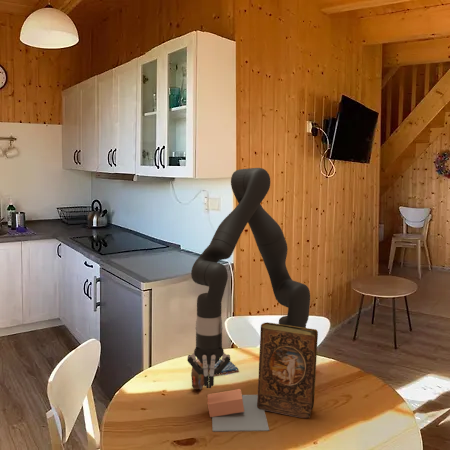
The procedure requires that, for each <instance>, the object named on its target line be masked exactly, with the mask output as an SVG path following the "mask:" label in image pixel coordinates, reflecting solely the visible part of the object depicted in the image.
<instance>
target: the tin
mask: <svg viewBox="0 0 450 450" xmlns="http://www.w3.org/2000/svg"><path fill="white" fill-rule="evenodd" d="M196 362H197V363H198V364H199V365H200V367H201V368H203V364H202V363H201V362H200V361H199V360H198V358H197V357H196ZM191 367H192V366H191ZM208 373H209V364H208ZM190 376H191V387H192V389H194V390H202V389H203V388H204V387H205V386H204V376H203V375H202V374H200V375H199V374H198V373H197V372H196V371H195V369H194V368H193V367H192V368H191V373H190Z"/></svg>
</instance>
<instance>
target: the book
mask: <svg viewBox="0 0 450 450" xmlns="http://www.w3.org/2000/svg"><path fill="white" fill-rule="evenodd" d="M259 333H260V337H259V338H260V339H259V357H258V358H259V360H258V379H257V381H258V382H257V395H258V397H257V408H258V409H261V410H264V411H265V412H272V413H276V414H282V415H286V416H290V417H296V418H302V419H310V418H311V415H312V410H313V408H314V405H315V388H316V372H317V358H318V356H317V354H318V338H319V337H318V336H319V331H318V330H317V329H314V328H307V327H306V328H302V327H296V326H289V325H282V324H279V323H275V322H263V323H261V324H260V332H259Z"/></svg>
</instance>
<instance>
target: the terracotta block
mask: <svg viewBox="0 0 450 450" xmlns="http://www.w3.org/2000/svg"><path fill="white" fill-rule="evenodd" d="M242 395H243V394H242V390H241V388H237V389H232V390H225V391H221V392H220V391H219V392H213V393H207V406H208V413H209V414H208V415H209V418H212V417H215V416H221V415H227V414H233V413H239V412H244V406H243V400H242Z"/></svg>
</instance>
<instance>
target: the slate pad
mask: <svg viewBox="0 0 450 450" xmlns="http://www.w3.org/2000/svg"><path fill="white" fill-rule="evenodd" d="M257 397H258V394H242V400H243V406H244V412H239V413H233V414H227V415H221V416H215V417H211V422H212V423H211V424H212V425H211V426H212V432H270V428H269V424H268V420H267V416H266V410H261V409H258V408H257Z"/></svg>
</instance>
